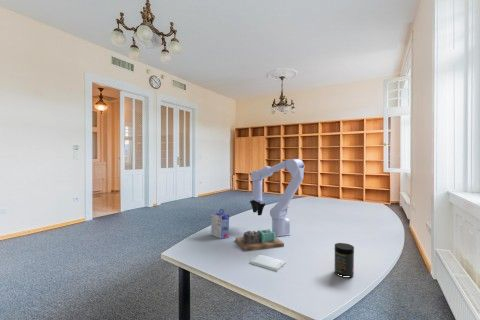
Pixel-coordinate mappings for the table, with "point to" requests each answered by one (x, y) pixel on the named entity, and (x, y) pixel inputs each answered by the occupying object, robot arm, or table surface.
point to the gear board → (256, 241)
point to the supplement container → (344, 259)
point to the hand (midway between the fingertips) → (257, 213)
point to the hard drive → (268, 262)
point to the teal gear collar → (266, 236)
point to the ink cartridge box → (220, 225)
